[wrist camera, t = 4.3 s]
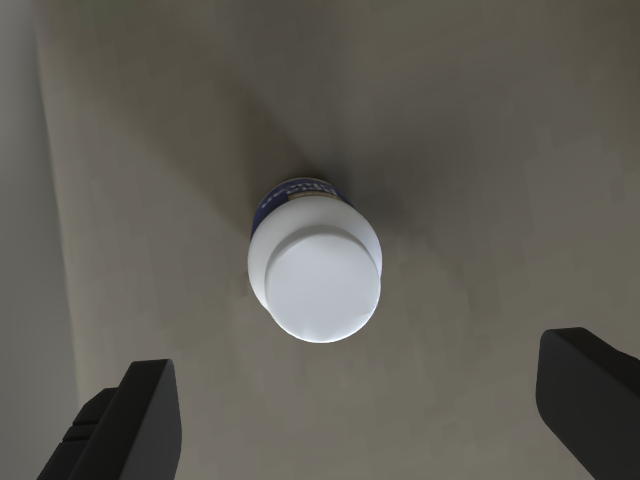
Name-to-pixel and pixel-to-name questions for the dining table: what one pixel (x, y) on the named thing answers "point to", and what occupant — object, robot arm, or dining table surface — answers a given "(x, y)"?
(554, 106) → the dining table surface
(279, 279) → the pill bottle
